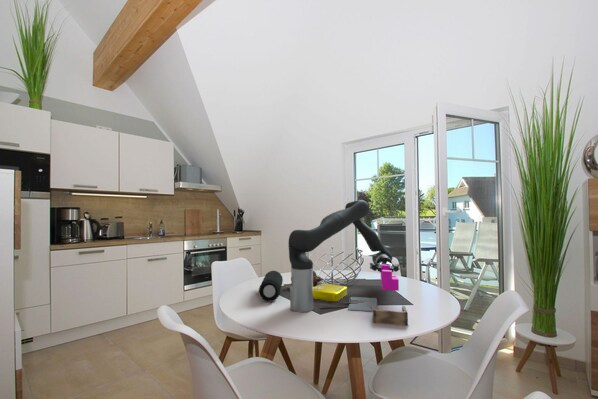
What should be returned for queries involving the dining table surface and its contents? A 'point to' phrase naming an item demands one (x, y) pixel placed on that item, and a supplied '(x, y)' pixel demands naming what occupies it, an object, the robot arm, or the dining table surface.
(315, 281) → the pine cone
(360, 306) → the slate mat
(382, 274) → the toy block
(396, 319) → the walnut bracket
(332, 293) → the element tile
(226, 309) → the dining table surface
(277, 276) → the portable speaker
